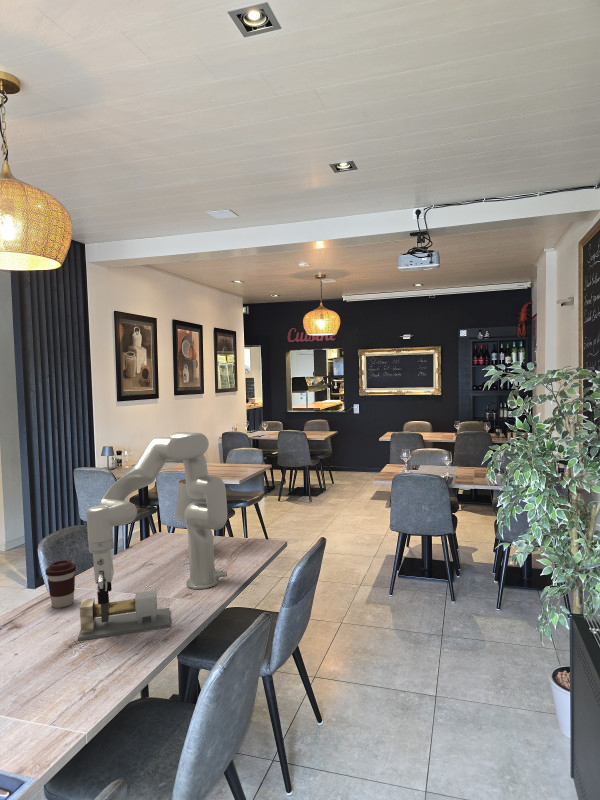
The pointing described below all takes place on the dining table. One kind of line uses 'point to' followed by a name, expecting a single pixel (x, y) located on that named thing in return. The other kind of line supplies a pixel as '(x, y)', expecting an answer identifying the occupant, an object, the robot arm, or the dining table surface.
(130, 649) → the dining table surface
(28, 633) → the dining table surface
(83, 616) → the socket
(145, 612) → the sleeve
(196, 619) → the dining table surface
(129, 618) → the board
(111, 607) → the tube
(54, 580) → the coffee cup
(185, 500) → the lamp
